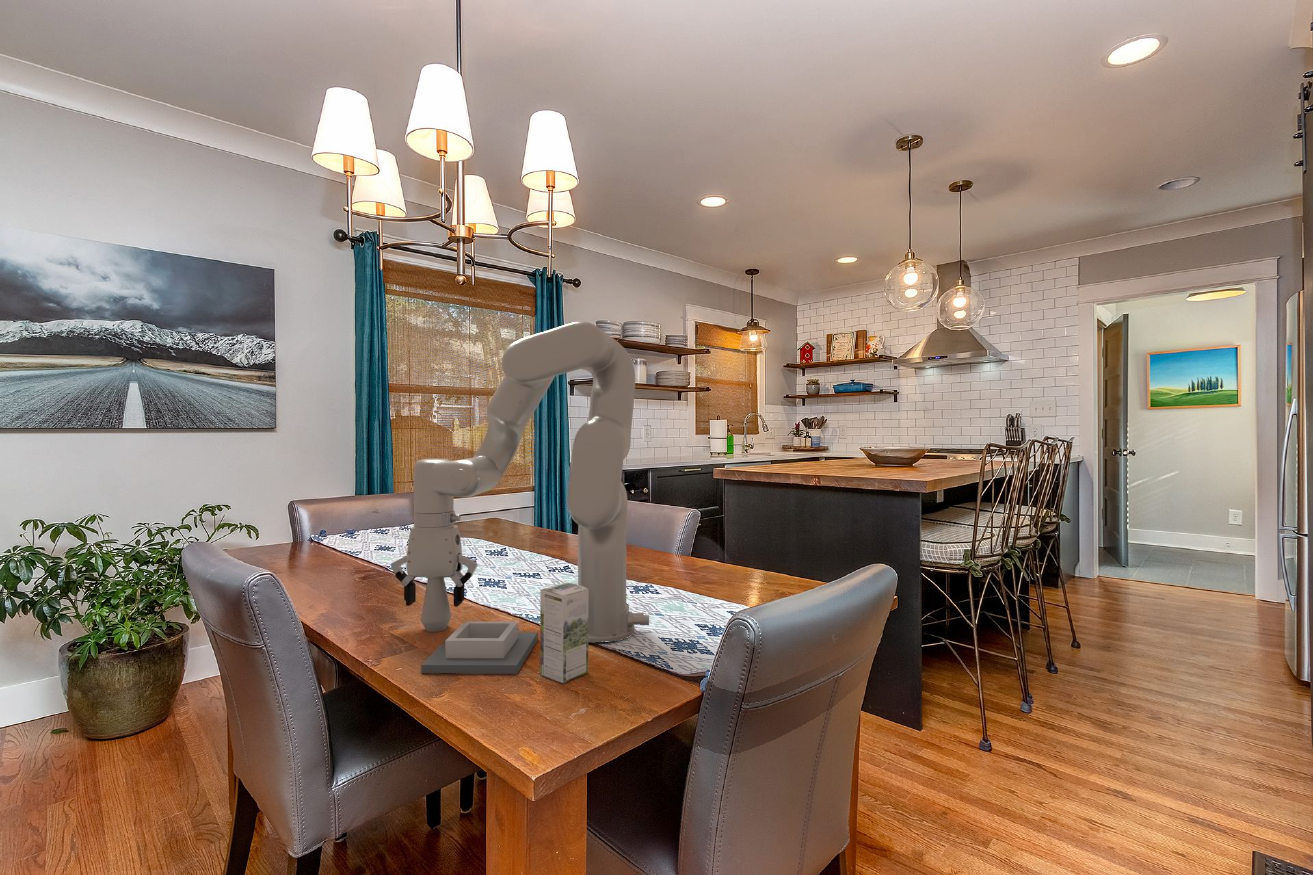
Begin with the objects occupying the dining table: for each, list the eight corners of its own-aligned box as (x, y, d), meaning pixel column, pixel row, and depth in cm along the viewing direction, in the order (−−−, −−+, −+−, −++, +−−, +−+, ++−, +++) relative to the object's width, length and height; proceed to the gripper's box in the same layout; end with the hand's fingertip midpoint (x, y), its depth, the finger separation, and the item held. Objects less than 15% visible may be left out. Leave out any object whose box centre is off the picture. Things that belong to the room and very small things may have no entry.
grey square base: (537, 639, 118) (537, 616, 117) (516, 674, 102) (516, 647, 101) (455, 639, 118) (454, 616, 118) (421, 673, 102) (420, 647, 102)
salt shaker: (441, 634, 121) (440, 569, 120) (415, 633, 122) (413, 568, 121) (456, 625, 126) (455, 562, 126) (431, 623, 128) (430, 561, 127)
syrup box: (565, 664, 105) (564, 581, 105) (589, 673, 102) (589, 586, 101) (539, 675, 101) (538, 588, 101) (564, 685, 97) (563, 594, 97)
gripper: (482, 517, 127) (482, 599, 128) (399, 516, 127) (400, 598, 128) (470, 523, 120) (470, 610, 120) (382, 522, 120) (383, 609, 120)
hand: (434, 604), depth 124 cm, fingers open, 9 cm apart
